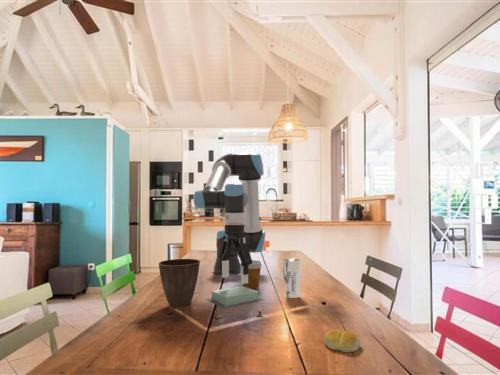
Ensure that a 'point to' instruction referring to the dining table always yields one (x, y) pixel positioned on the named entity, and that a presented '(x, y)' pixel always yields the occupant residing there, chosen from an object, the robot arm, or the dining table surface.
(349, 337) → the bread roll
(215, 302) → the rubber mat
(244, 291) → the board
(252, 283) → the disposable coffee cup
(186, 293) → the plant pot
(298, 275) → the beer glass
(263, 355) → the dining table surface
